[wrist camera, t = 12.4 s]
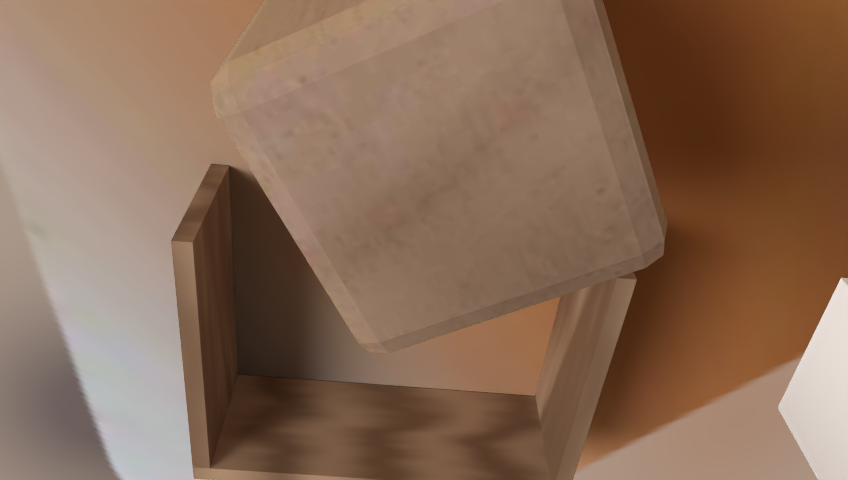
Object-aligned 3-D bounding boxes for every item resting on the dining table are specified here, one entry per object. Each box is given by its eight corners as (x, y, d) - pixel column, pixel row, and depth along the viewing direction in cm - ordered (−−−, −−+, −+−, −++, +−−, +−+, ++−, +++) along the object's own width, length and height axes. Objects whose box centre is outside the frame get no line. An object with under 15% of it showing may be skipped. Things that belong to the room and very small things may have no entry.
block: (566, 43, 37) (685, 270, 21) (387, 115, 40) (363, 375, 23) (498, -163, 32) (584, -85, 16) (298, -67, 35) (183, 92, 18)
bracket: (602, 199, 43) (636, 279, 36) (546, 407, 52) (565, 502, 46) (211, 164, 42) (171, 240, 35) (223, 384, 51) (193, 478, 44)
